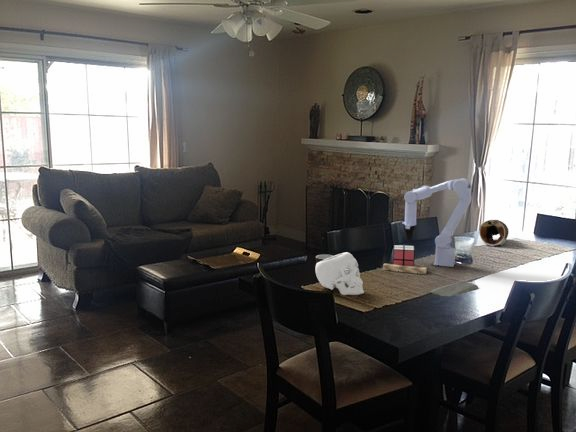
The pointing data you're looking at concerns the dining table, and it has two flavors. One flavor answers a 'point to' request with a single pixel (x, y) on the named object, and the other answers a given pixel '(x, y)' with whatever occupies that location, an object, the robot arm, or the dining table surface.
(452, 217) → the robot arm
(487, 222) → the clay pot
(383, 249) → the dining table surface
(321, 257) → the coffee mug
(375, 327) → the dining table surface
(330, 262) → the skull planter
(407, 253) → the puzzle cube
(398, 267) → the board
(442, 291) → the stone slab
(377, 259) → the dining table surface
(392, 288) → the dining table surface
